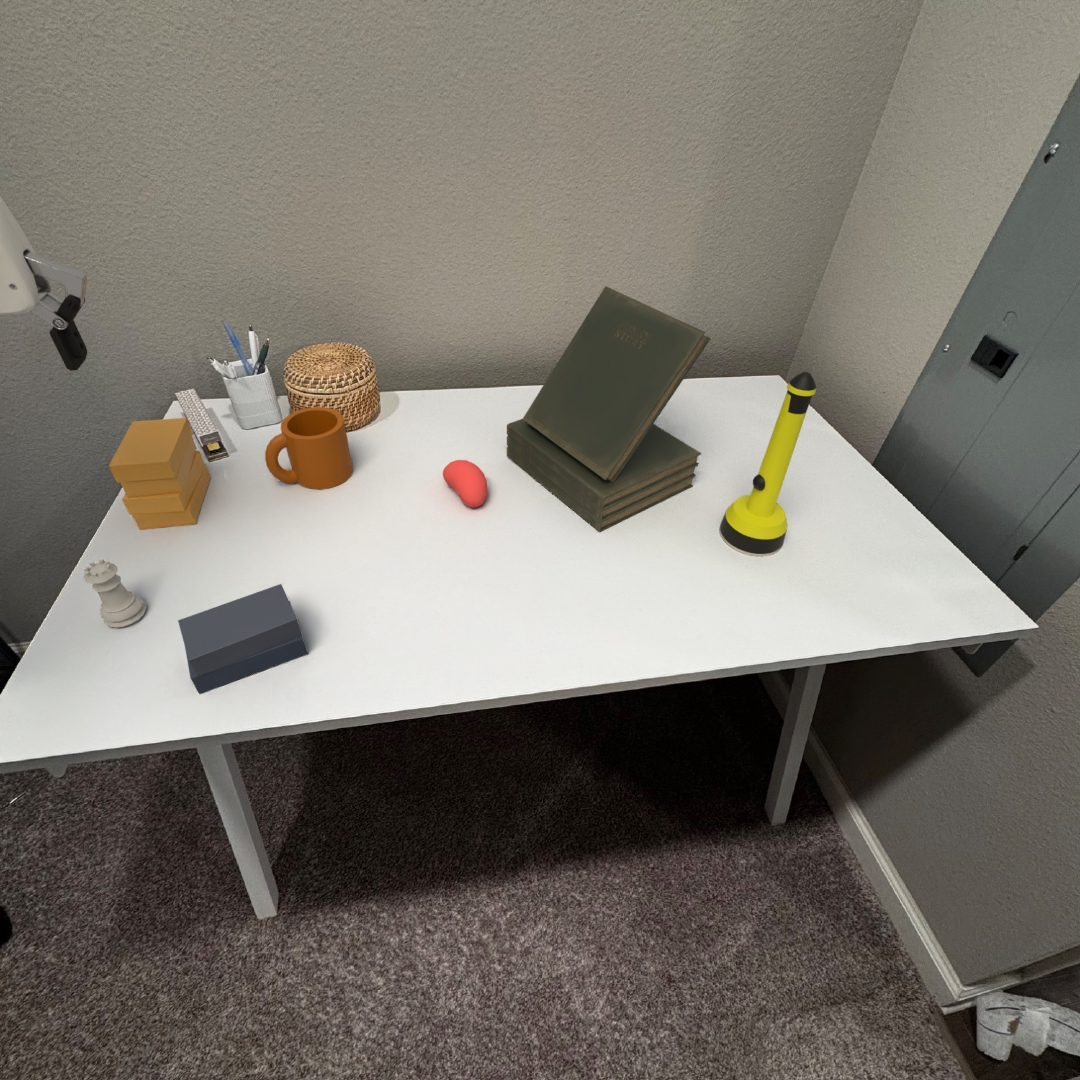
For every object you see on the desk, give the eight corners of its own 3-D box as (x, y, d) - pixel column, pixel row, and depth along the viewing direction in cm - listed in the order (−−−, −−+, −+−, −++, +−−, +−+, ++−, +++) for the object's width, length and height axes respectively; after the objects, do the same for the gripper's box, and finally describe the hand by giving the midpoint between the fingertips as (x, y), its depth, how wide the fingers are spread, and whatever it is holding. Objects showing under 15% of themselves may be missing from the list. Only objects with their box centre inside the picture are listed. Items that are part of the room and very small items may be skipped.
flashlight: (815, 352, 77) (752, 360, 74) (864, 386, 70) (797, 395, 68) (760, 510, 93) (707, 521, 91) (796, 549, 87) (740, 561, 85)
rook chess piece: (135, 630, 72) (106, 582, 67) (97, 629, 72) (64, 580, 67) (154, 602, 75) (128, 554, 70) (117, 601, 75) (88, 552, 70)
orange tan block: (175, 477, 81) (168, 461, 80) (116, 482, 80) (108, 466, 78) (193, 433, 89) (186, 417, 88) (140, 437, 88) (132, 421, 86)
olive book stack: (506, 457, 101) (506, 303, 85) (597, 422, 111) (613, 278, 94) (598, 533, 88) (619, 368, 71) (693, 486, 97) (731, 331, 81)
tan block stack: (196, 525, 86) (176, 479, 81) (136, 531, 85) (112, 484, 80) (211, 477, 95) (194, 432, 90) (157, 481, 93) (137, 436, 88)
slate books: (199, 695, 66) (181, 662, 62) (191, 650, 70) (173, 617, 66) (309, 655, 70) (298, 622, 67) (295, 615, 75) (284, 582, 71)
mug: (269, 467, 97) (253, 416, 91) (347, 452, 101) (337, 402, 95) (276, 500, 91) (260, 448, 85) (359, 482, 95) (349, 431, 89)
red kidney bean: (483, 483, 98) (464, 448, 95) (500, 496, 90) (480, 460, 87) (455, 500, 97) (435, 466, 95) (470, 515, 90) (448, 479, 87)
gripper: (-259, 173, 44) (-104, 391, 56) (14, 172, 47) (109, 380, 59) (-190, 152, 50) (-61, 355, 61) (51, 153, 53) (131, 346, 64)
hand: (22, 367), depth 60 cm, fingers open, 9 cm apart
